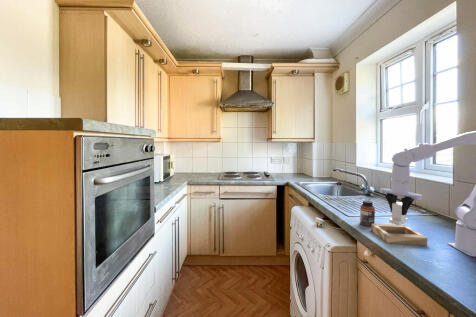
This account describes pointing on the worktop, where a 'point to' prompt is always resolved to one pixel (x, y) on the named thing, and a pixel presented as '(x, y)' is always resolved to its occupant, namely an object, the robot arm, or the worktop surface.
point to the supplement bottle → (367, 213)
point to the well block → (398, 234)
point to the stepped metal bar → (397, 214)
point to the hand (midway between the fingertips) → (398, 213)
